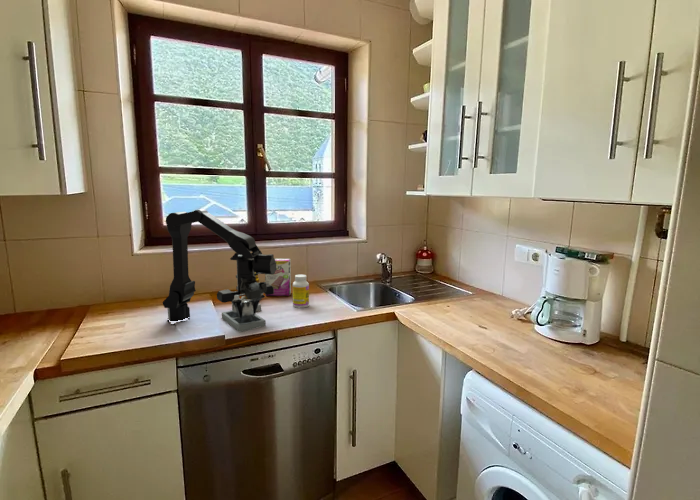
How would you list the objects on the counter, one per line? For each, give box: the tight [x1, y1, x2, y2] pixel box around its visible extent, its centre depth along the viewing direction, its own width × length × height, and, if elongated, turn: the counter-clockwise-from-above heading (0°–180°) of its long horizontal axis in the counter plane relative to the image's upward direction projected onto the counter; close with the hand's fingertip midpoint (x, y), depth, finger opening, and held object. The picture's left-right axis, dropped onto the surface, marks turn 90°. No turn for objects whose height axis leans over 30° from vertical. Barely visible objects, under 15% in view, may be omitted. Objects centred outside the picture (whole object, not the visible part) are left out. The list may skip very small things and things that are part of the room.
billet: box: [241, 299, 254, 323], centre depth 133 cm, size 4×4×7 cm
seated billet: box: [231, 297, 244, 318], centre depth 140 cm, size 4×4×7 cm
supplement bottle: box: [292, 273, 310, 309], centre depth 157 cm, size 7×7×13 cm
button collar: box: [255, 303, 262, 313], centre depth 150 cm, size 5×5×3 cm
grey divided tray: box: [221, 310, 267, 333], centre depth 137 cm, size 10×17×3 cm, turn 38°
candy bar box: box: [264, 258, 292, 297], centre depth 172 cm, size 11×5×16 cm, turn 94°
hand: (247, 316), depth 134 cm, fingers closed on billet, 4 cm apart
